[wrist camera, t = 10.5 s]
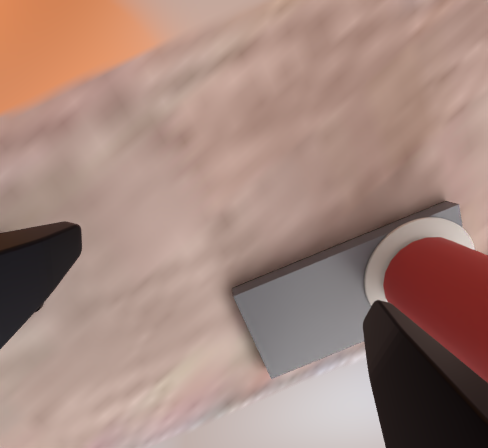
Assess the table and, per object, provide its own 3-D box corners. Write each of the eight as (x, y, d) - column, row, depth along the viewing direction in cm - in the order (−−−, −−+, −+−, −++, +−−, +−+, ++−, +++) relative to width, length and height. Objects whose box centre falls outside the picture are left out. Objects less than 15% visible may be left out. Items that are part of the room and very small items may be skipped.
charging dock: (269, 370, 25) (273, 384, 23) (230, 285, 22) (232, 295, 20) (466, 290, 25) (482, 299, 23) (451, 195, 22) (468, 199, 20)
